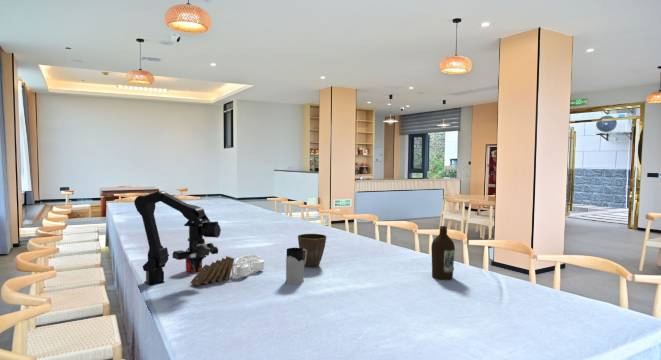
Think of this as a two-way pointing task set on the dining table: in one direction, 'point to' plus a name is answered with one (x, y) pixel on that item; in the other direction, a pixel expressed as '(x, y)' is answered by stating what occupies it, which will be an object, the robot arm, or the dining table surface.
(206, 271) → the tile
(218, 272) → the tile
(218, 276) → the tile
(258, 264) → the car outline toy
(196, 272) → the canned food
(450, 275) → the olive oil
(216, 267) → the tile
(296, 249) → the tall mug
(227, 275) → the tile
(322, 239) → the plant pot
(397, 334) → the dining table surface
